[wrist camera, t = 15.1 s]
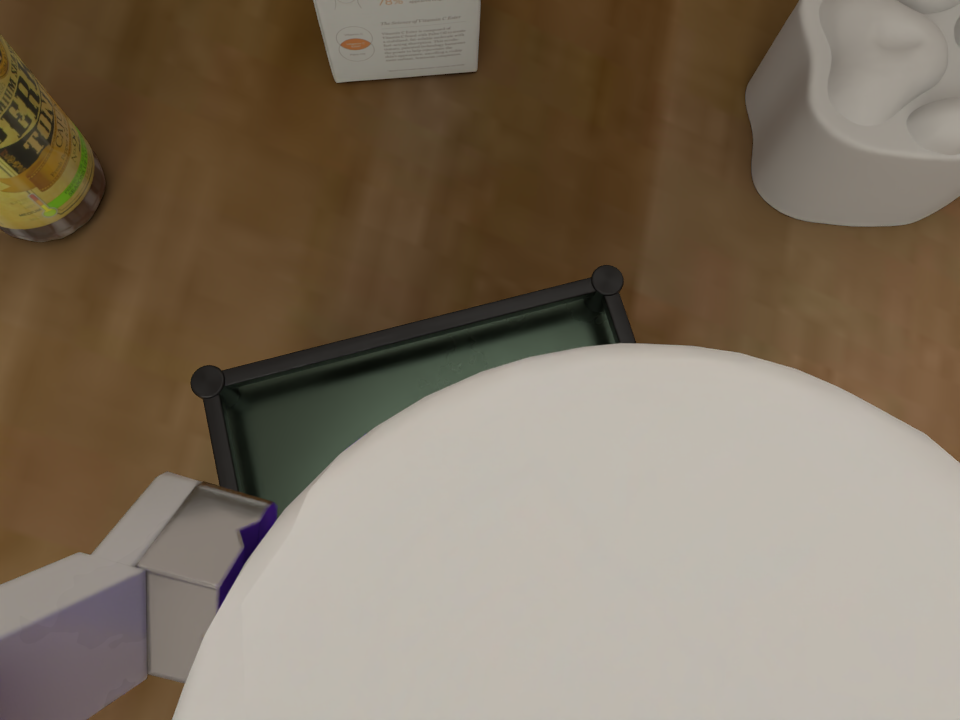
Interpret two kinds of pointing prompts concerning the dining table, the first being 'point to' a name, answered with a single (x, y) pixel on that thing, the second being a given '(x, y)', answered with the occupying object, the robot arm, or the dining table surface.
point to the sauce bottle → (41, 160)
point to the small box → (399, 37)
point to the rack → (383, 379)
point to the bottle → (606, 556)
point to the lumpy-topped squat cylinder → (859, 112)
